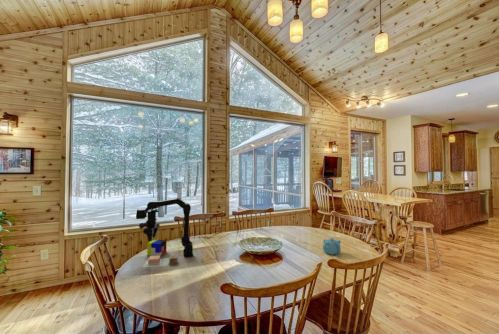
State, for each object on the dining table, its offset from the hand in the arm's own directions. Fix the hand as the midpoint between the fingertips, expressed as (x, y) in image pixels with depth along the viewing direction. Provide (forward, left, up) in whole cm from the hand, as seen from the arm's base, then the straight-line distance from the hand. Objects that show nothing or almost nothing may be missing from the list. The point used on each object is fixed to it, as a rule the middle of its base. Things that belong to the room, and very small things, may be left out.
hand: (151, 239), depth 177 cm
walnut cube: (-17, +14, -14) cm, 26 cm away
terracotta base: (-3, +9, -13) cm, 16 cm away
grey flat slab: (-5, +11, -14) cm, 18 cm away
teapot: (-138, +15, -14) cm, 140 cm away
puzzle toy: (-2, -8, -14) cm, 17 cm away
